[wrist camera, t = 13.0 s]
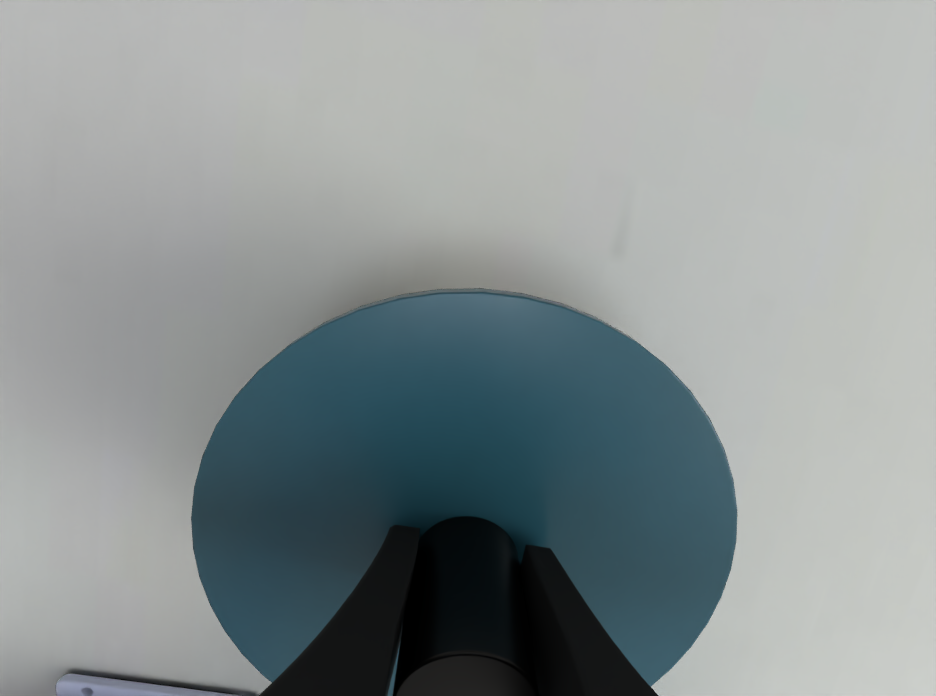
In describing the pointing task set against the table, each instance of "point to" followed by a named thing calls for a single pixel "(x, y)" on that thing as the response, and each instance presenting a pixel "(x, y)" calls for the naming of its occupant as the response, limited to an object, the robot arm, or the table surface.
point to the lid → (465, 487)
